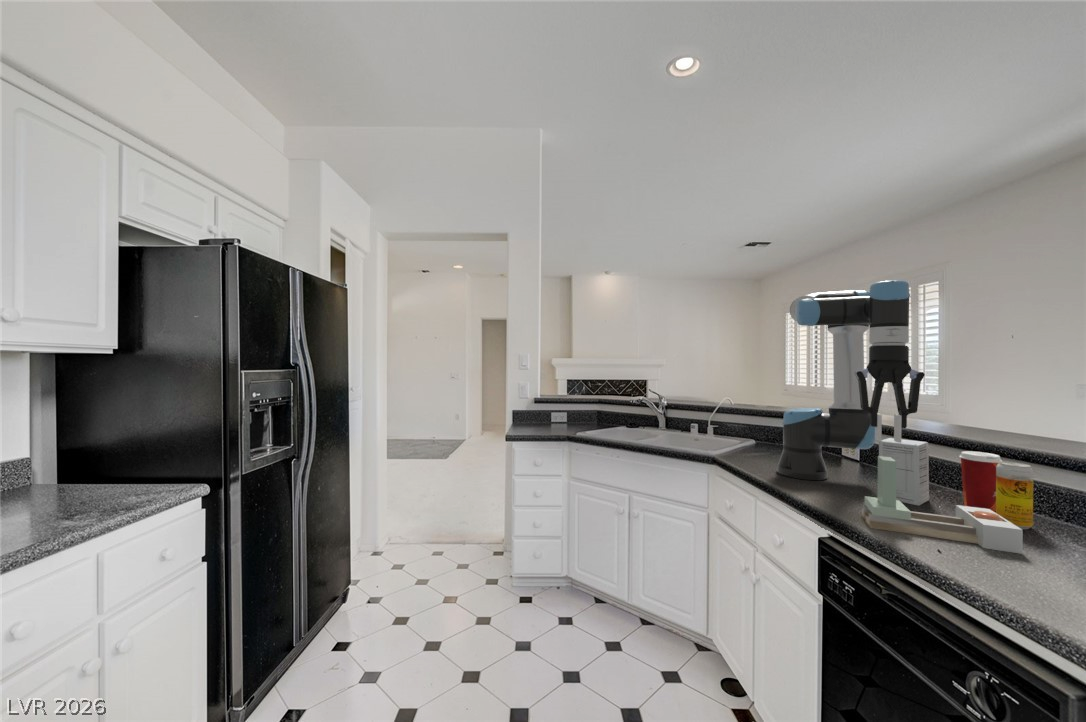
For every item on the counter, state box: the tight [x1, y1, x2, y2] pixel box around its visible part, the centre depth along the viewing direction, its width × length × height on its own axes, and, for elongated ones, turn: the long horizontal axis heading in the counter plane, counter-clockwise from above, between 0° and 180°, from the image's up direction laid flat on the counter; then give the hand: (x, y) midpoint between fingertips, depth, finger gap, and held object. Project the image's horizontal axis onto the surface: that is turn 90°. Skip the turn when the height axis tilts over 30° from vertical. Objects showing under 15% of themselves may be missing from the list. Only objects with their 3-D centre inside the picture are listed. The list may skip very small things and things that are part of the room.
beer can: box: [995, 461, 1034, 530], centre depth 104 cm, size 6×6×15 cm
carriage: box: [864, 455, 911, 520], centre depth 104 cm, size 9×7×13 cm
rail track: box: [861, 504, 979, 545], centre depth 101 cm, size 9×19×3 cm, turn 64°
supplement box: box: [878, 437, 930, 507], centre depth 124 cm, size 10×9×17 cm
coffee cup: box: [959, 450, 1004, 513], centre depth 116 cm, size 8×8×15 cm
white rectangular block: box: [955, 504, 1024, 554], centre depth 96 cm, size 14×6×5 cm, turn 154°
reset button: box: [974, 511, 1000, 521], centre depth 96 cm, size 4×4×4 cm
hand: (887, 440), depth 104 cm, fingers open, 3 cm apart
